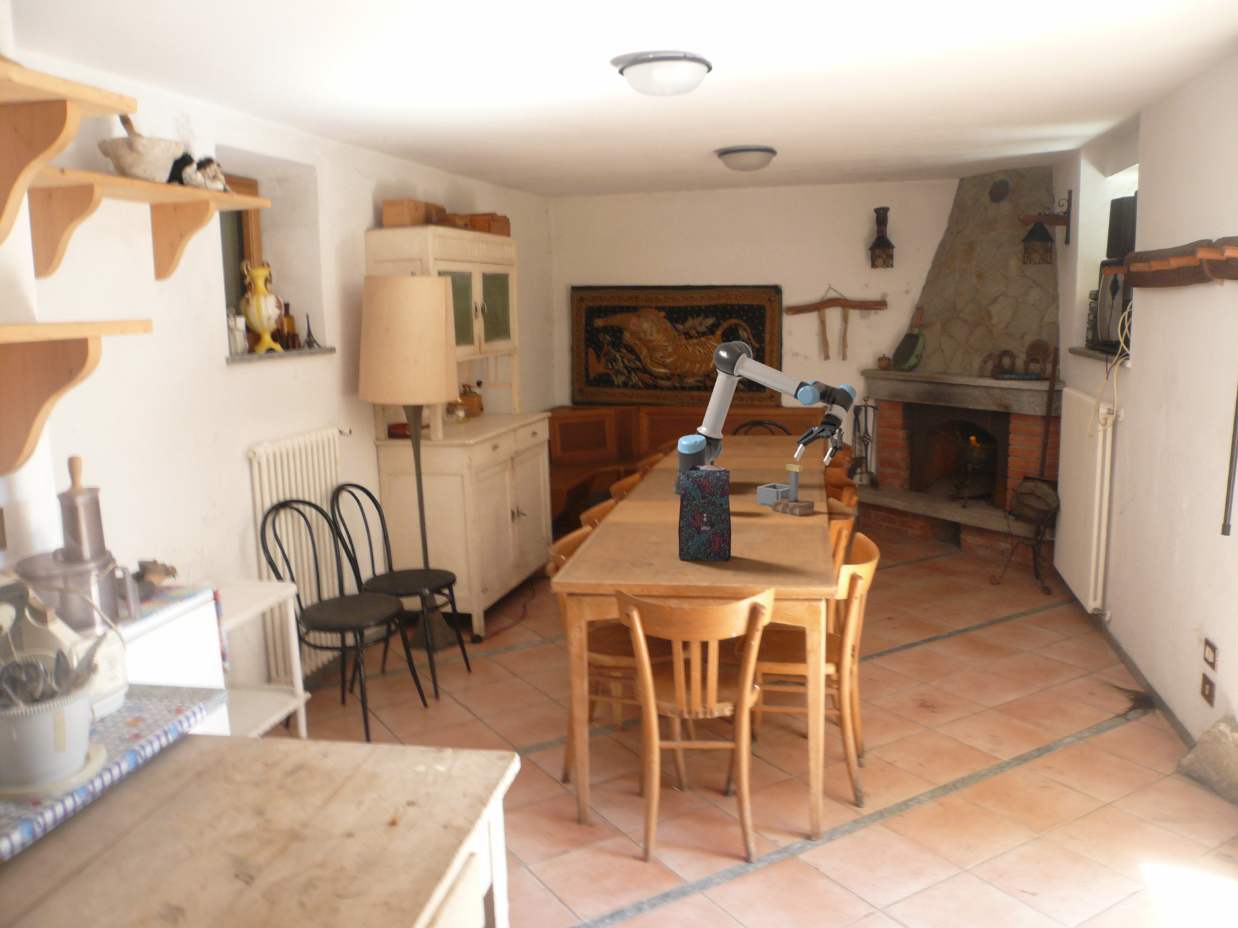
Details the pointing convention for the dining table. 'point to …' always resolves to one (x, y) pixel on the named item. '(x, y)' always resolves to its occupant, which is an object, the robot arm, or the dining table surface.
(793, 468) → the t key
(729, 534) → the decorative box
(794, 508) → the block
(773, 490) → the grey square box
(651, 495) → the dining table surface
